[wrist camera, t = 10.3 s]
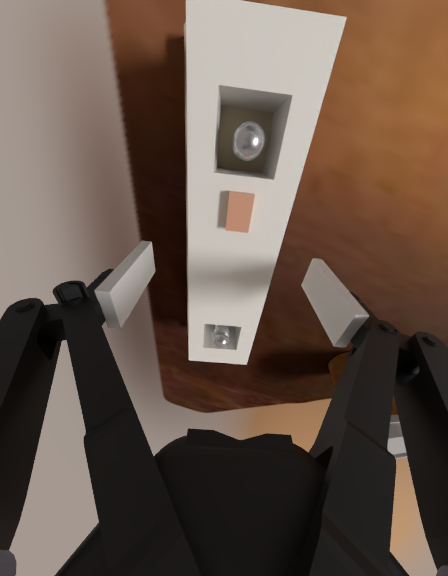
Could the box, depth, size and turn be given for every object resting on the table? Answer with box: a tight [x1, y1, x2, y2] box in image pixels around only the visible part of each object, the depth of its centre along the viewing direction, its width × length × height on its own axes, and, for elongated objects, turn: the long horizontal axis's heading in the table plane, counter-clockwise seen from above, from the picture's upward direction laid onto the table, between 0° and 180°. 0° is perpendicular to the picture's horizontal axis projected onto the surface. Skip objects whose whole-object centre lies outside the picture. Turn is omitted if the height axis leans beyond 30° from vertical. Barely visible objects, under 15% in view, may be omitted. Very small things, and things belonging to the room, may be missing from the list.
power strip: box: [186, 0, 347, 365], centre depth 17 cm, size 26×7×6 cm, turn 174°
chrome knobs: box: [213, 121, 265, 348], centre depth 18 cm, size 19×2×7 cm, turn 174°
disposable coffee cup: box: [328, 352, 407, 459], centre depth 29 cm, size 10×10×12 cm
